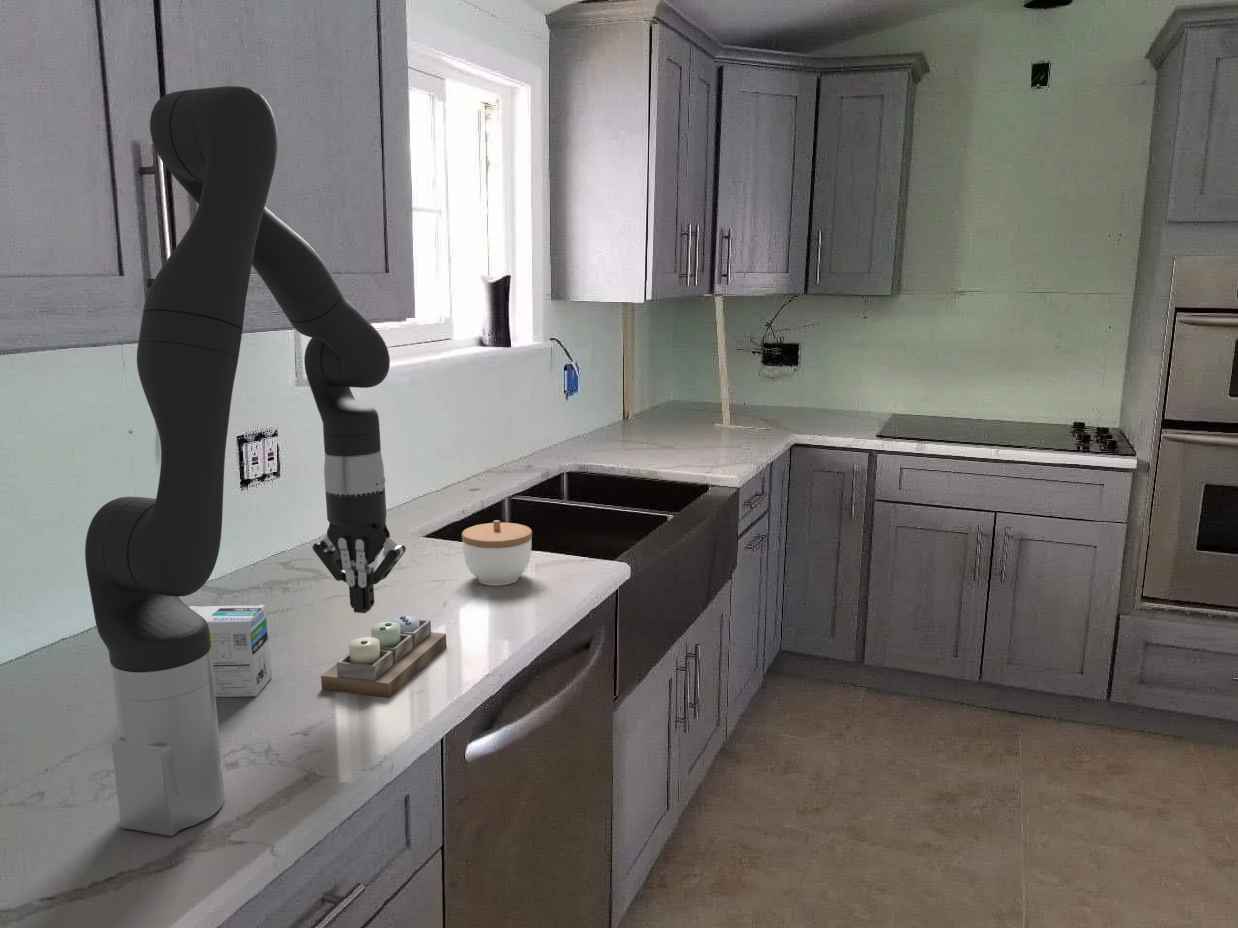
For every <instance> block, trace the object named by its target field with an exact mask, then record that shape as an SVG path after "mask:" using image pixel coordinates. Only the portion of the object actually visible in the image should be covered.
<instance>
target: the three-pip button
mask: <svg viewBox="0 0 1238 928" xmlns="http://www.w3.org/2000/svg"><path fill="white" fill-rule="evenodd" d="M391 622H396V623H398V624H400V631H405V632H414V631H415V630H416V629H418V628H419V627H420V624H419V617H417V616H412V615H408V616H407V615H406V616H405V615H404V616H398V618H397V617H395V618H393V619H392V620H391Z"/></svg>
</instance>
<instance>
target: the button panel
mask: <svg viewBox="0 0 1238 928" xmlns="http://www.w3.org/2000/svg"><path fill="white" fill-rule="evenodd" d="M398 617H399V616H398ZM398 617H396V618H398ZM431 622H432V621H431V620H429V619H419V624H420V627H419V628H418V629H416V630H415V631H414V632H405V631H400V634H401V642H400V643H399V644H398V645H397V646H395V647H394V648H389V647H380V659H379V660H378V661H377V662H375V663H374V664H373V665H367V664H358V663H350V654H349V653H347V654H346V655H345V656H344V657H342V658H341V659H340V660H338V661H337V662H336V664H334V665H333V666H332V667H331V668H330V669H328V670H327V671H324V673H323V674H321V675H320V681H321V683H320V684H321V690H323V691H329V692H331V691H332V692H337V693H338V692H340V693H348V694H357V695H363V696H364V695H365V696H372V697H380V698H381V697H382V698H383V697H384V698H389V699H390V698H391V697H392V696H393V695H395V693H397V692H398V691H399V690H400V689H401V688H403V686H405V684H407V683H408V682H409V681H410V680H411V679H412V678H414V677H415V675H417V674H418V672H420V671H421V670H422V669H424V668H425V667H426V665H428V663H430V662H431V661H432V660H433V659H434V658H435V657H436V656H437V655H439V654H440V653H441V652H443V650H444V649H445V648H446V647H447V633H441V632H432V626H431Z"/></svg>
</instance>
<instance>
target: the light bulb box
mask: <svg viewBox="0 0 1238 928" xmlns="http://www.w3.org/2000/svg"><path fill="white" fill-rule="evenodd" d="M188 607H189V608H190V609H192V610H193V611H195V612H196V613H198V614H199V615H200V616H202V617H203V618H204V619H205V621H206V622H207V624H208V627H209V631H210V641H211V652H212V663H213V675H214V686H215V697H216V698H225V697H226V698H228V697H231V698H232V697H234V698H236V697H237V698H239V697H240V698H241V697H257V696H258V695H259V694H260V693H261V692H262V690H263V689H264V688H265V686H266V685H267V684H268V682H269V681H270V680H271V679H272V677H273V667H272V658H271V646H270V636H269V635H270V634H269V625H268V613H267V606H266V604H247V605H212V606H211V605H204V606H196V605H189V606H188Z"/></svg>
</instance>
